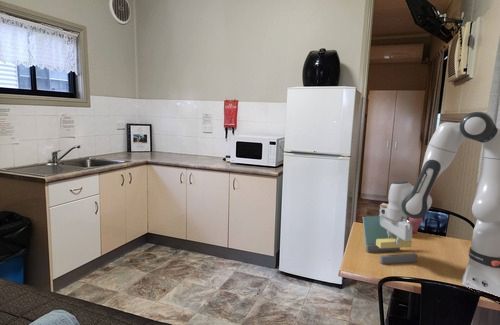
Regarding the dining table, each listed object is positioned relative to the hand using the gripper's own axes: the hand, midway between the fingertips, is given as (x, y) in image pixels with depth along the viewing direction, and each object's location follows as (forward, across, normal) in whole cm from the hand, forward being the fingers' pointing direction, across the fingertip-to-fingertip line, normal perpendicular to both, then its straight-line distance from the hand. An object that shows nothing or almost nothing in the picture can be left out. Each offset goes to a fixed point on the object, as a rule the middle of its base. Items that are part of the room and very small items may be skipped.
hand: (393, 242), depth 155 cm
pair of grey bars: (+8, +2, 0) cm, 8 cm away
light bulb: (+8, +28, -33) cm, 44 cm away
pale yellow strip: (+2, 0, 0) cm, 2 cm away
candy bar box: (+9, +31, -18) cm, 37 cm away
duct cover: (-2, +11, 0) cm, 11 cm away
